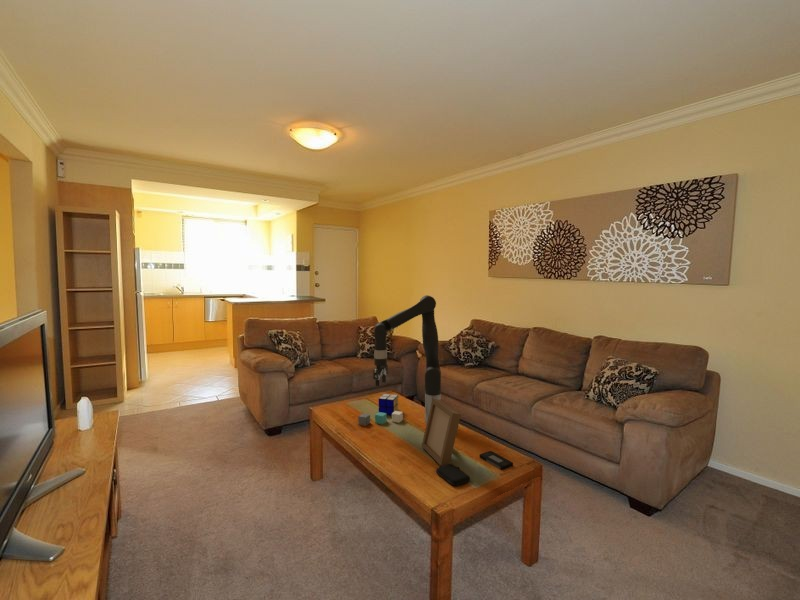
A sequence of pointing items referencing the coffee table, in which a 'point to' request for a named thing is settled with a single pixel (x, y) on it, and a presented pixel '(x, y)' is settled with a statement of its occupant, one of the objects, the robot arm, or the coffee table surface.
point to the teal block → (380, 418)
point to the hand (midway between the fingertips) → (380, 384)
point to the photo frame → (441, 431)
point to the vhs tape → (496, 460)
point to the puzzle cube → (388, 403)
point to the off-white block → (397, 416)
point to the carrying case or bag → (453, 475)
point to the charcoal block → (364, 419)
